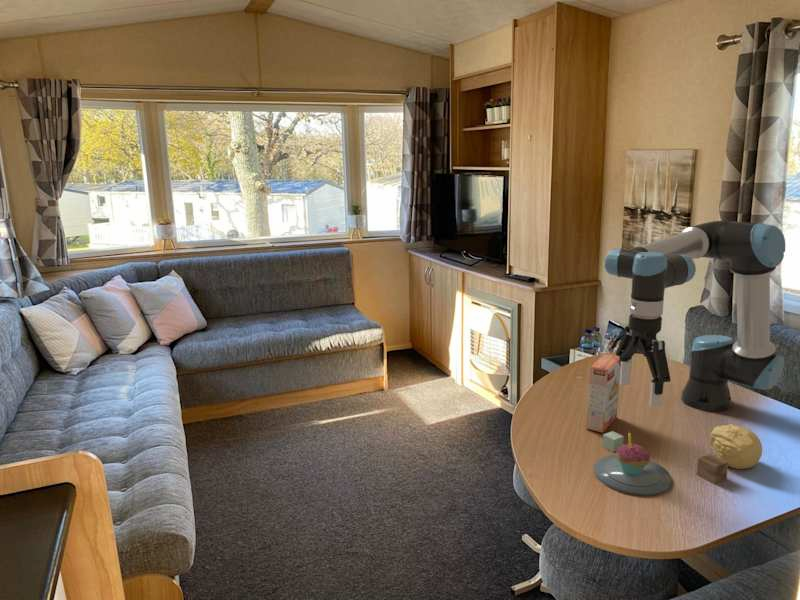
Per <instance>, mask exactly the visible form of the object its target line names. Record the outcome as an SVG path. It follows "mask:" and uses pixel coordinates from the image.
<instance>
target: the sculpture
mask: <svg viewBox="0 0 800 600" xmlns="http://www.w3.org/2000/svg"><path fill="white" fill-rule="evenodd" d="M709 436H710V440H709V444H710V446H711V447H712V449H713V451H714V452H713V453H714V455H715V456H717V457H719V458H721V459H723V460H725V461H727V462H728V468H729V467H730V468H732V469H737V470H743V469H744V470H745V469H746V470H747V469H749V468H752V467H754V466H755V465H756V464H758V463H759V461H760V459H761V458H762V455H763V454H762V453H763V446H762V442H761V440H760V438H759V436H758V435H757V434H755V433H754V432H753V431H752V430H751V429H749V428H747V427H743V426H740V425H735V424H733V423H729V424H727V425H725V424H724V425H716V426H715V427H714V428H713V429H712V431H711V432H710V435H709Z"/></svg>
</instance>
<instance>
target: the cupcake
mask: <svg viewBox="0 0 800 600" xmlns="http://www.w3.org/2000/svg"><path fill="white" fill-rule="evenodd" d="M627 434H628V438H627V439H628V443H625V444H623V445H621V446H620V447H619V448H618V449H617V450H616V453H615V455H616V457H617V459H618V460H619V461H620V463H621V466H622V470H623V471H624V472H625V473H627V474H629V475H639V474H641V472H642V470H643V468H644V467H645V465H648V464H649V462H650V460H651V455H650V452H649V451H648V450H647V449H646V448H645V447H643V446H642V445H640V444H636V443H632V434H631V432H630V430H628V433H627Z"/></svg>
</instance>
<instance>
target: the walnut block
mask: <svg viewBox="0 0 800 600" xmlns="http://www.w3.org/2000/svg"><path fill="white" fill-rule="evenodd" d="M697 461H698V462H697V469H696V476H698V477H700V478H702V479H704V480H705V481H707V482H709V483H711V484H717V483H720V482H722V481H725V480H727V476H728V470H729V466H728V462H727V461H725V460H723V459H721V458H719V457H717V456H716V455H715V454H712V453H710V454H707V455H703V456H700V457H698V459H697Z"/></svg>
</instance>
